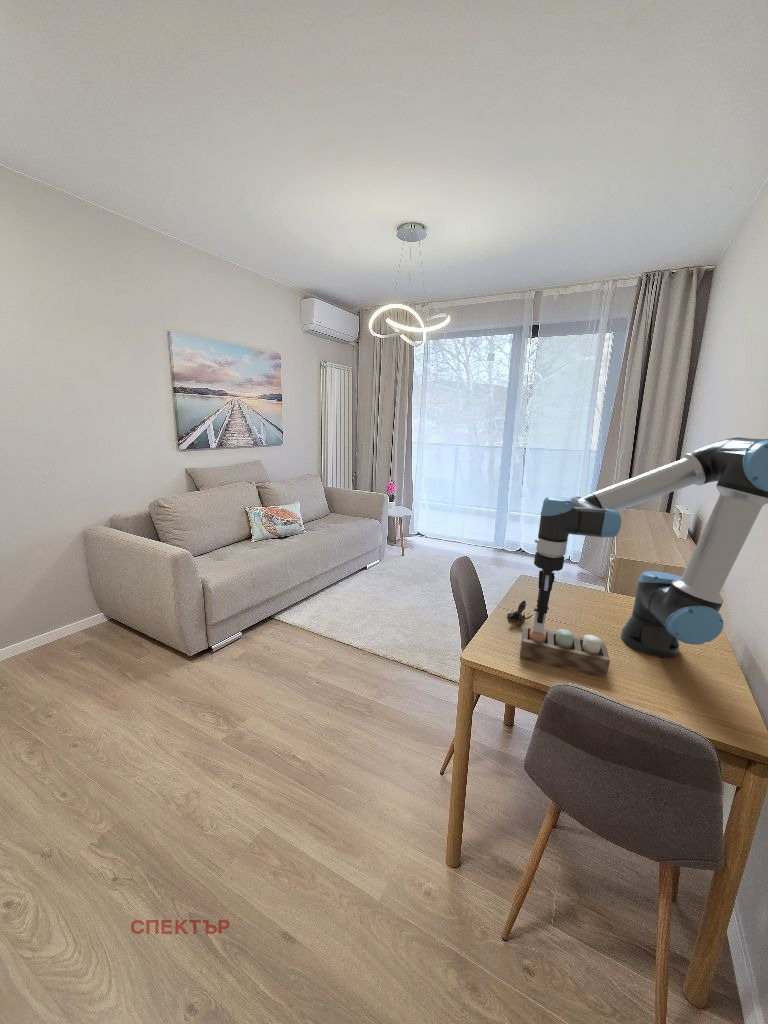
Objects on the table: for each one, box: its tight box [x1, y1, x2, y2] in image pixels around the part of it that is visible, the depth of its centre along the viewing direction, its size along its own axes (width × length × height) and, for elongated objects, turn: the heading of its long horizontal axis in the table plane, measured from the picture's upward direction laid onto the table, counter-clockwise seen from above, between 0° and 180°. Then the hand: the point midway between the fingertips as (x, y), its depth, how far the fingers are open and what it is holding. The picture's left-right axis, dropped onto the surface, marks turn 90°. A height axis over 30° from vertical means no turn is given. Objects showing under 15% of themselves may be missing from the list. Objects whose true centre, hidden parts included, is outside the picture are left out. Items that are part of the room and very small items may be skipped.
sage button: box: [555, 628, 575, 649], centre depth 116 cm, size 4×4×5 cm
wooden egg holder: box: [519, 624, 611, 680], centre depth 117 cm, size 22×10×6 cm, turn 69°
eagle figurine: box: [507, 600, 532, 627], centre depth 138 cm, size 8×7×9 cm
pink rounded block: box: [529, 628, 546, 643], centre depth 119 cm, size 4×4×5 cm
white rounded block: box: [582, 634, 603, 655], centre depth 114 cm, size 4×4×5 cm
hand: (538, 631), depth 118 cm, fingers closed
